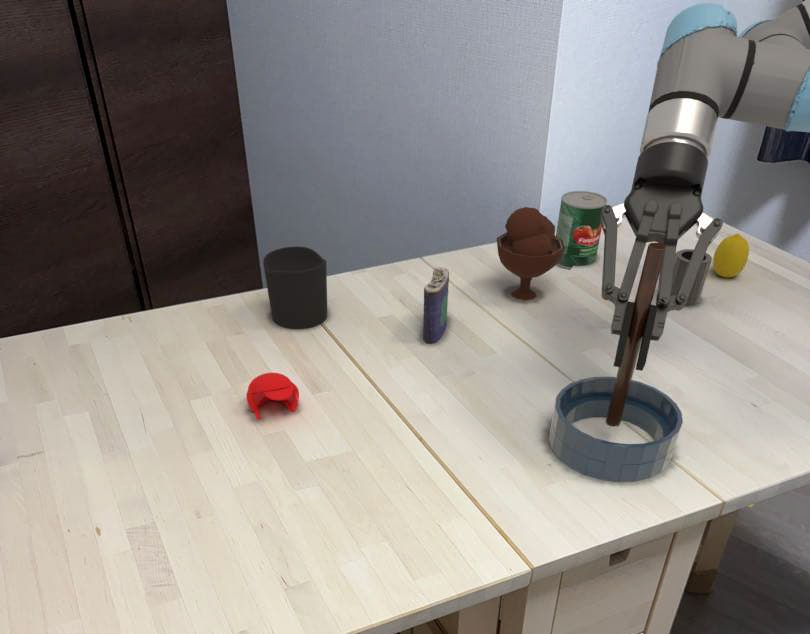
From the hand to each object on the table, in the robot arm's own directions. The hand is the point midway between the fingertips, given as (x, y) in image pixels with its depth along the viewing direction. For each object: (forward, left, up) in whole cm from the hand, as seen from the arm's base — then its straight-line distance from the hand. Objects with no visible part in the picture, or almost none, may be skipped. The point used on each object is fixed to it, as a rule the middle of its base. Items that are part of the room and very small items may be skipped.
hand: (629, 364), depth 82 cm
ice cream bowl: (+24, -39, -14) cm, 48 cm away
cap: (+42, +9, -14) cm, 46 cm away
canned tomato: (+21, -58, -14) cm, 63 cm away
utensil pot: (0, -50, -14) cm, 52 cm away
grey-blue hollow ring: (0, -4, -14) cm, 15 cm away
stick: (+1, -4, -10) cm, 11 cm away
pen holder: (+53, -15, -14) cm, 57 cm away
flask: (+32, -21, -14) cm, 41 cm away
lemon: (-5, -63, -14) cm, 65 cm away
